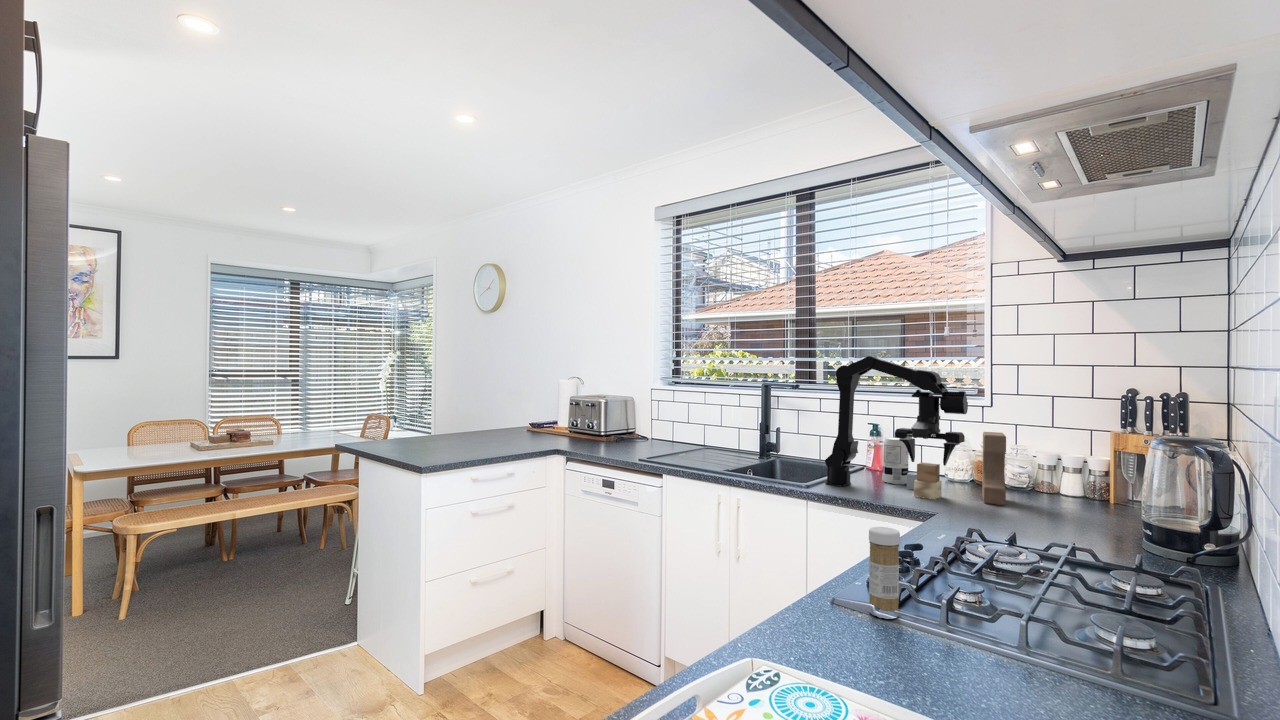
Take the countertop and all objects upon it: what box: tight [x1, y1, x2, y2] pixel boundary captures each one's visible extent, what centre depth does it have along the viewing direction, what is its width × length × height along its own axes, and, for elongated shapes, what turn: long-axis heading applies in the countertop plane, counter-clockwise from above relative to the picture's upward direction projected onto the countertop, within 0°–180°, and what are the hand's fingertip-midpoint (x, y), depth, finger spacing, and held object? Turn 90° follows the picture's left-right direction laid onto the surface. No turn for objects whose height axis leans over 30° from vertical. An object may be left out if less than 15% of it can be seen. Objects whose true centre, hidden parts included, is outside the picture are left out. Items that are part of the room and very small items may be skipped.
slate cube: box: [906, 471, 917, 490], centre depth 200 cm, size 5×5×5 cm
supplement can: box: [881, 436, 909, 485], centre depth 211 cm, size 8×8×15 cm
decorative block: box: [981, 431, 1007, 506], centre depth 183 cm, size 11×6×20 cm, turn 152°
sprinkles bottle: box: [868, 526, 901, 611], centre depth 97 cm, size 5×5×14 cm
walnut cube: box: [916, 462, 941, 483], centre depth 188 cm, size 5×5×5 cm
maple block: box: [913, 480, 943, 500], centre depth 188 cm, size 6×6×5 cm
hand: (928, 463), depth 188 cm, fingers open, 9 cm apart
